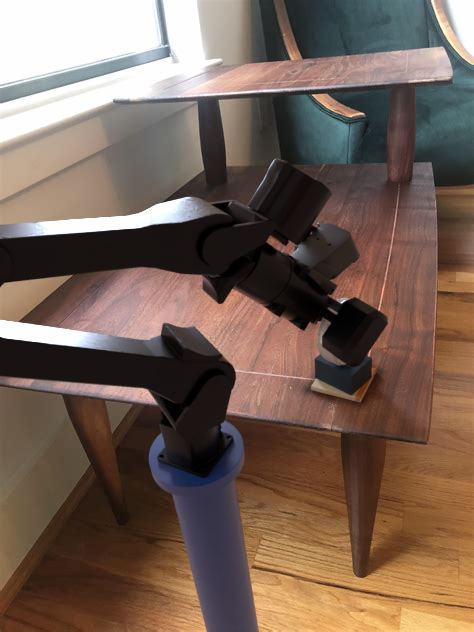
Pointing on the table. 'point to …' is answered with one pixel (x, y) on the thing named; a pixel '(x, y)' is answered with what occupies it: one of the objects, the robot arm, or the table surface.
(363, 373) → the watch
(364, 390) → the mat
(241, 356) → the table surface
